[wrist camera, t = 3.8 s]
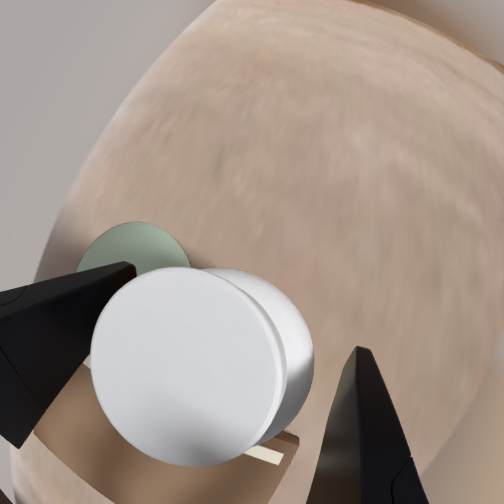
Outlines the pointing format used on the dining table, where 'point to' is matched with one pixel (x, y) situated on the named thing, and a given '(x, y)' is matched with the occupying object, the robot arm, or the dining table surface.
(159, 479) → the walnut board
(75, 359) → the robot arm
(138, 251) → the end pad
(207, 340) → the supplement bottle
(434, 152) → the dining table surface
